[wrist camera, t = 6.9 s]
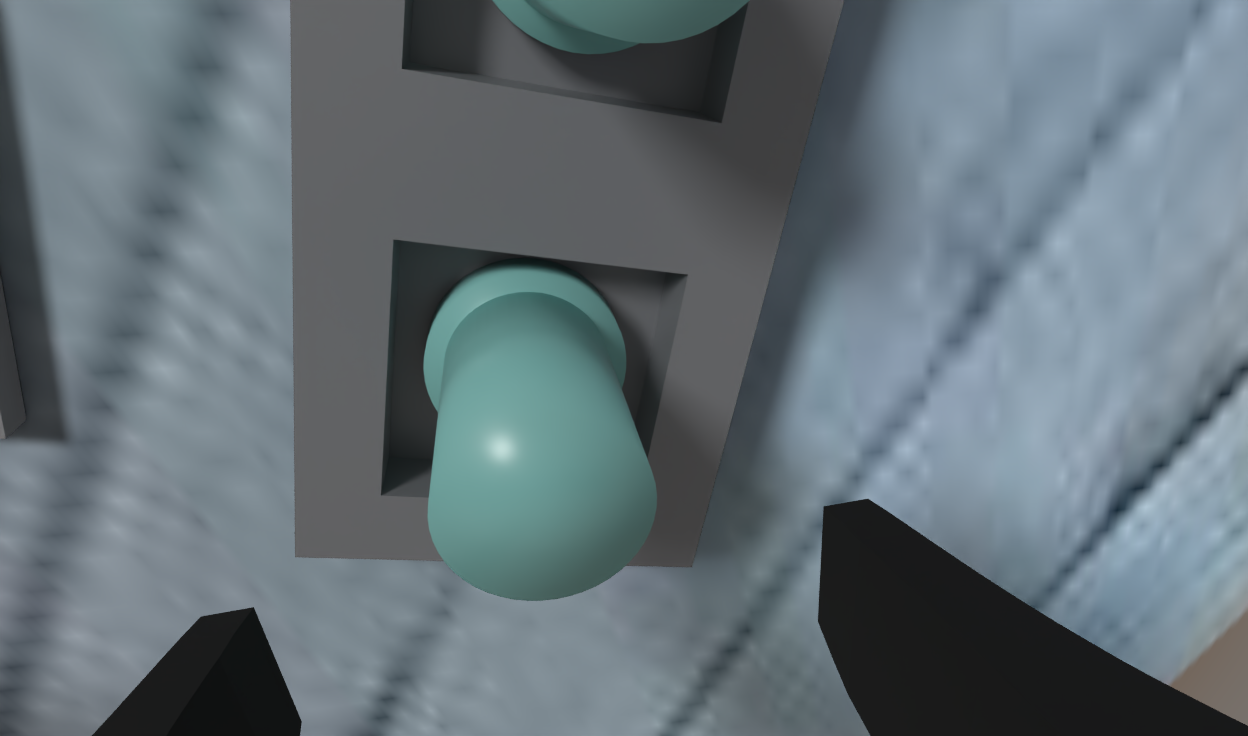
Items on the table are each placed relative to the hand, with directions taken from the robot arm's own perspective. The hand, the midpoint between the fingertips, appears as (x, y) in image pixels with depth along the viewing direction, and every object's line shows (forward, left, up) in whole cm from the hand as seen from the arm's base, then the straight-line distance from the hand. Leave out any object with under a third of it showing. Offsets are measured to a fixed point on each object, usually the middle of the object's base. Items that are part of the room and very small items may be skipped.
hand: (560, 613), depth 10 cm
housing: (0, -4, -9) cm, 10 cm away
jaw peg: (0, 0, -8) cm, 8 cm away
